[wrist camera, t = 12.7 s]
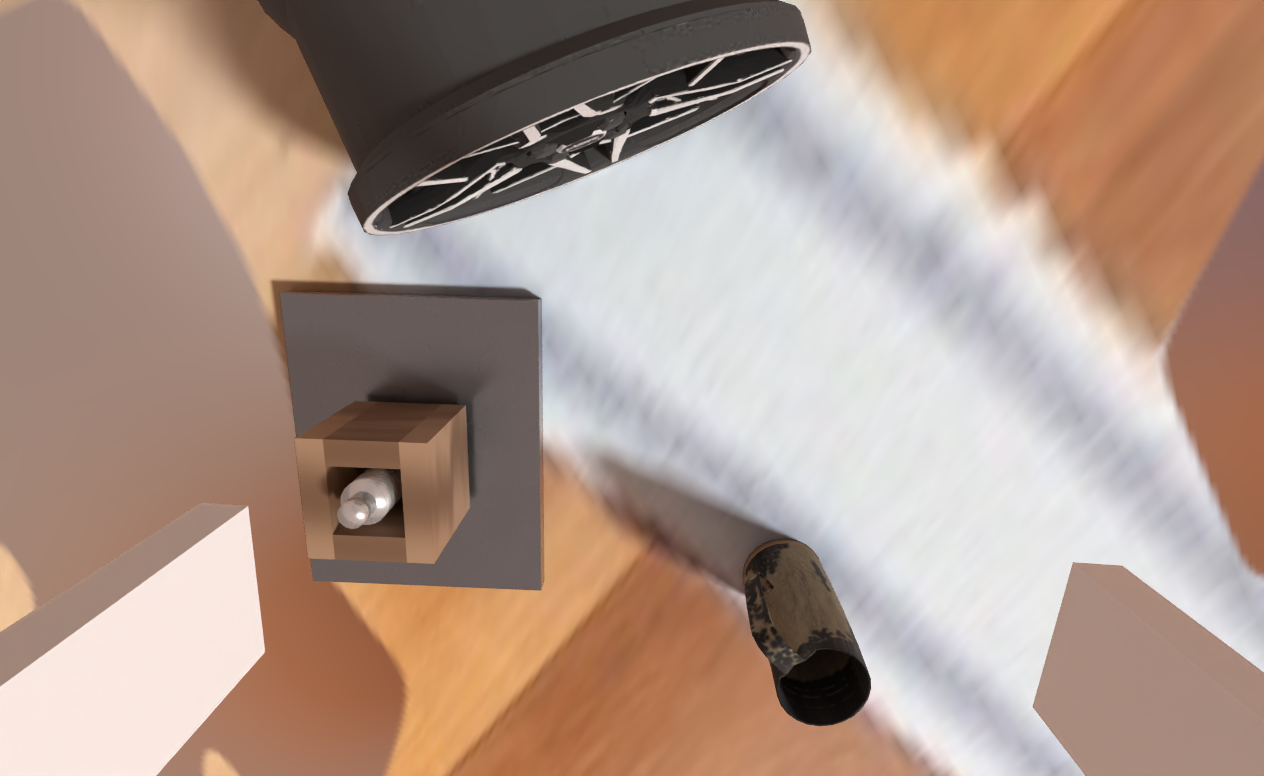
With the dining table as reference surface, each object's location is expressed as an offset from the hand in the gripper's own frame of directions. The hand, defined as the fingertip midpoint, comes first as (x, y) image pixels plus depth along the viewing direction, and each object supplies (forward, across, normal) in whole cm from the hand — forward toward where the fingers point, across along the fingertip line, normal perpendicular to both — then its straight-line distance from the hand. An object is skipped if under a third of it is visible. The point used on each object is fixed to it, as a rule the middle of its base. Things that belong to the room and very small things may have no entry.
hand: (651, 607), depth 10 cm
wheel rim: (+31, -5, +13) cm, 34 cm away
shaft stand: (+30, -15, -10) cm, 35 cm away
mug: (+30, +10, -17) cm, 36 cm away
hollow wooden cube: (+28, -15, -10) cm, 33 cm away
